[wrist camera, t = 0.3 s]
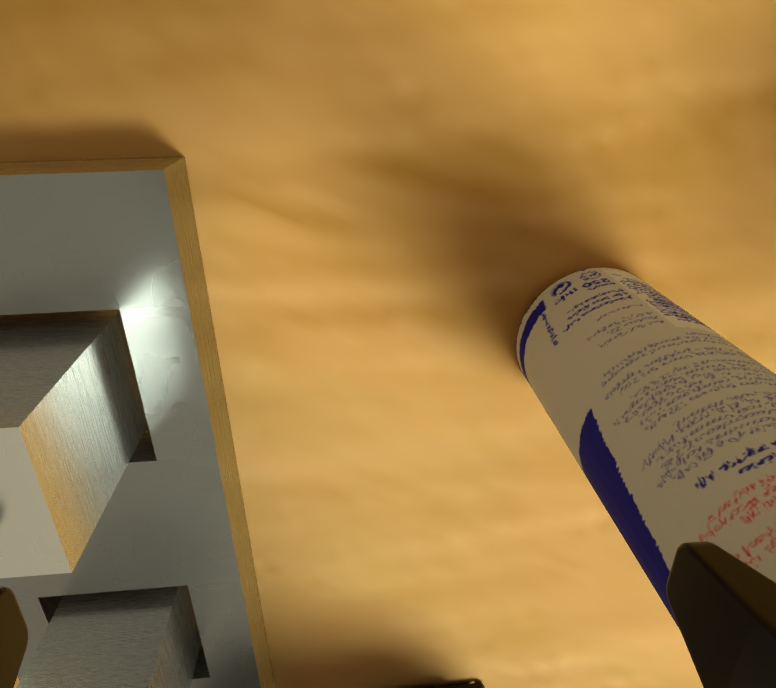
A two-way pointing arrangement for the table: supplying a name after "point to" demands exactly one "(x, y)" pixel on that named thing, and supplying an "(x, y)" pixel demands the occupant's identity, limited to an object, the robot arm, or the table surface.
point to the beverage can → (657, 418)
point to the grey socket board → (142, 396)
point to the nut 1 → (62, 433)
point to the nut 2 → (118, 641)
